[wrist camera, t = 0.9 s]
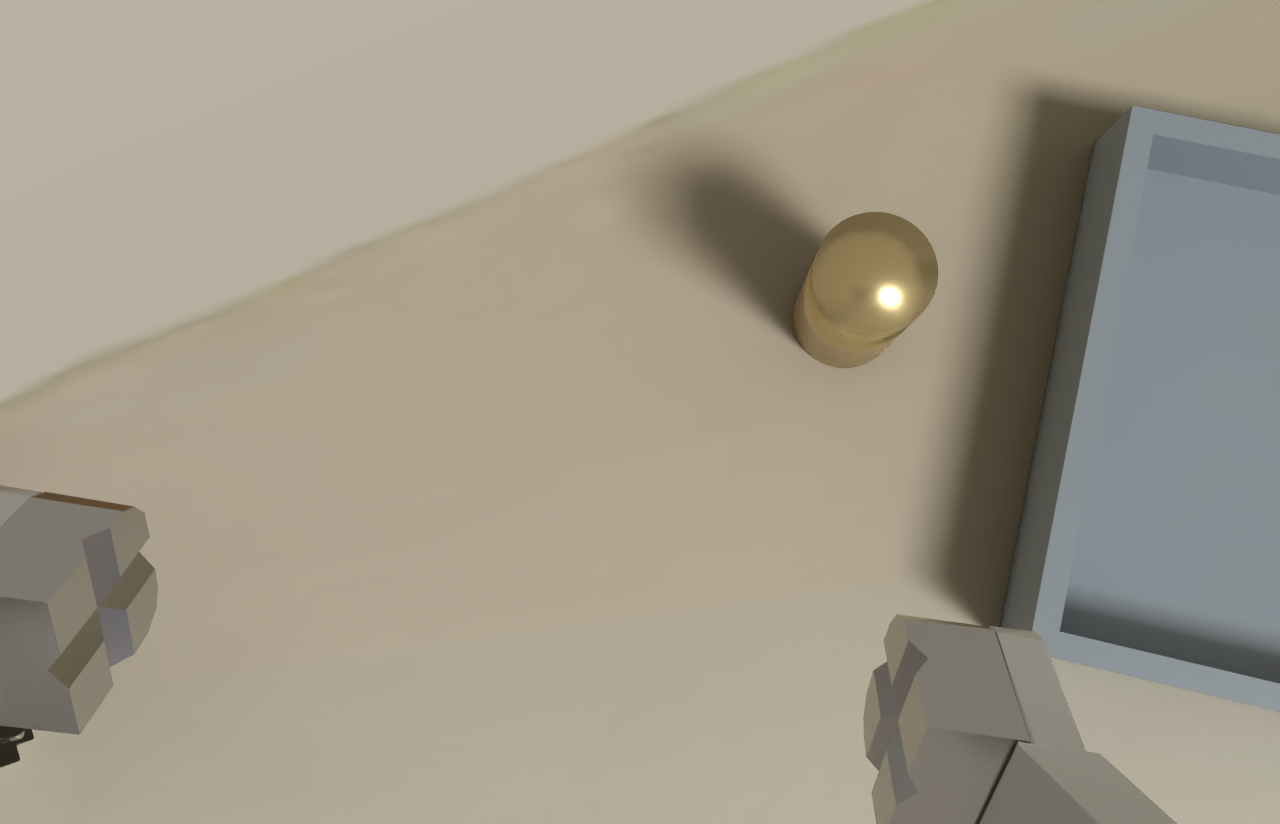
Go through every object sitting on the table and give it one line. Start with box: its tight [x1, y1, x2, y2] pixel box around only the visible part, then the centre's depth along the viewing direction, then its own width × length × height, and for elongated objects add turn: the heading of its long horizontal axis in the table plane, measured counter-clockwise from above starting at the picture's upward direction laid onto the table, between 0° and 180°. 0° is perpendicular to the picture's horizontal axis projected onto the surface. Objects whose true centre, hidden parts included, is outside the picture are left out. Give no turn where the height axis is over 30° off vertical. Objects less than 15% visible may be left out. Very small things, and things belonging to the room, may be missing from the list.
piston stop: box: [793, 212, 938, 368], centre depth 41 cm, size 4×4×8 cm
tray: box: [1000, 106, 1280, 712], centre depth 41 cm, size 22×16×4 cm
